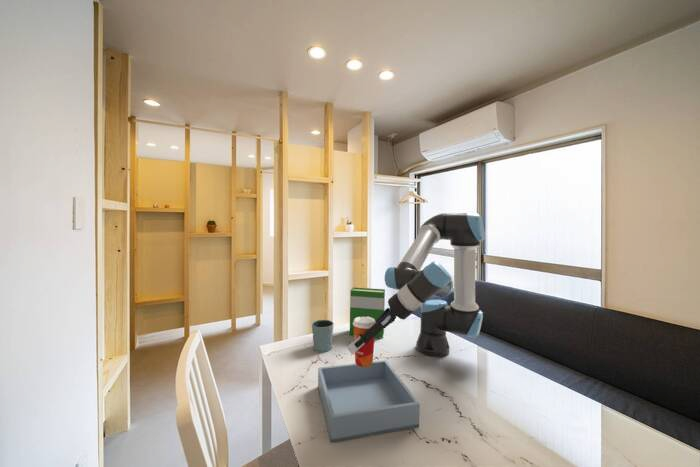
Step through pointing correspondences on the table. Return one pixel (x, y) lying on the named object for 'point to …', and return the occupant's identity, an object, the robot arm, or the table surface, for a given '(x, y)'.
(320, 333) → the grey-blue cup
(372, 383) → the bin
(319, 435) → the table surface
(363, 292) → the hardback book
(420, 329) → the robot arm
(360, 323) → the paper cup
